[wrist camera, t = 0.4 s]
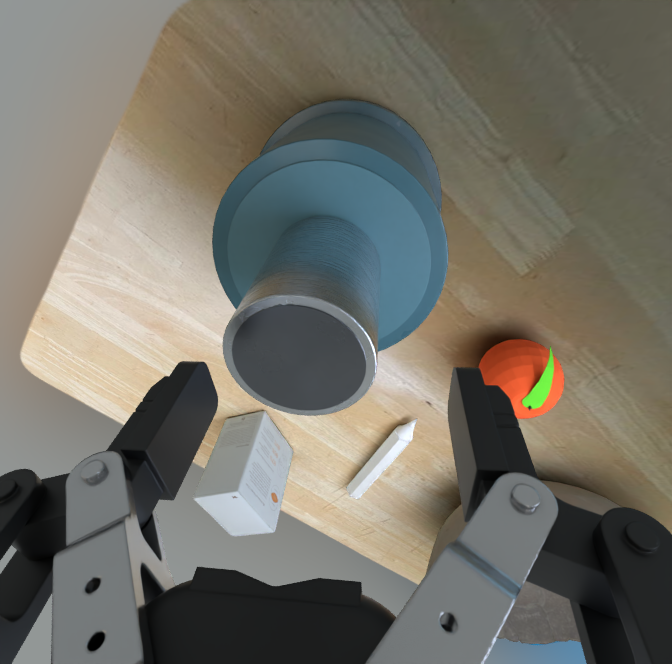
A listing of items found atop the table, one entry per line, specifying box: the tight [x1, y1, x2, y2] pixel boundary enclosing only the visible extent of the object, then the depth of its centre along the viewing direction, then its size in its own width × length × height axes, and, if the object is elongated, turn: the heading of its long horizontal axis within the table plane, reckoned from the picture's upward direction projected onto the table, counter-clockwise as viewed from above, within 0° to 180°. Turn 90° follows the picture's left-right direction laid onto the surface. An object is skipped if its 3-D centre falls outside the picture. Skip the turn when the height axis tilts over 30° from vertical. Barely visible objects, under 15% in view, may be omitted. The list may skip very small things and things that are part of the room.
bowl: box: [426, 480, 621, 644], centre depth 47 cm, size 28×28×10 cm
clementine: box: [478, 339, 564, 419], centre depth 33 cm, size 8×7×7 cm
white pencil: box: [346, 419, 417, 499], centre depth 46 cm, size 3×2×16 cm
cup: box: [223, 216, 381, 416], centre depth 18 cm, size 6×6×8 cm
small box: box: [193, 411, 293, 536], centre depth 44 cm, size 8×6×10 cm
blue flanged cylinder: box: [212, 99, 448, 351], centre depth 26 cm, size 14×14×11 cm
